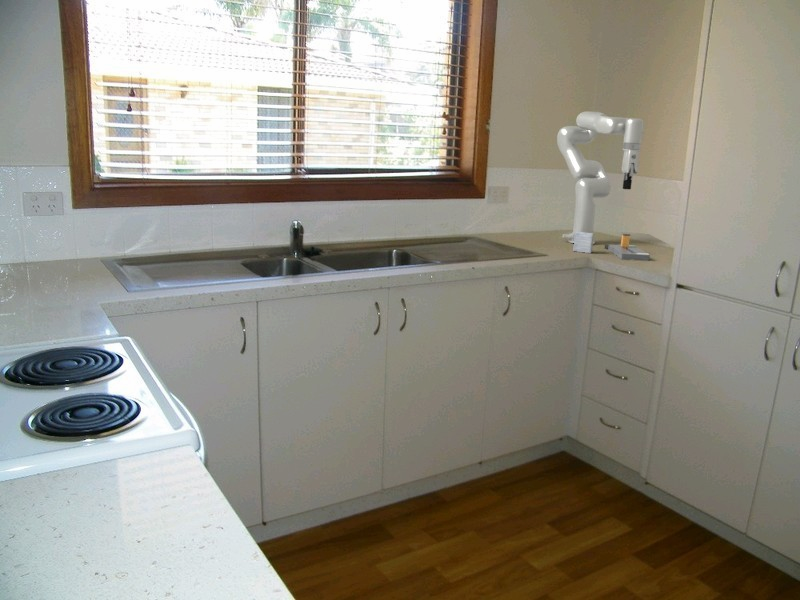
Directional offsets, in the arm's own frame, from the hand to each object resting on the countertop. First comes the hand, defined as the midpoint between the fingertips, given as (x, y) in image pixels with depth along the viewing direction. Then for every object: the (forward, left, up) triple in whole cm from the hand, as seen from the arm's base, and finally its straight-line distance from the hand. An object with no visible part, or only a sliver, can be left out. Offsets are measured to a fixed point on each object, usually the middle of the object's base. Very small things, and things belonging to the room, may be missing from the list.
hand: (626, 189), depth 315 cm
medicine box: (-17, -2, -29) cm, 34 cm away
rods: (+3, +11, -29) cm, 31 cm away
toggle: (+3, +3, -29) cm, 29 cm away
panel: (+3, -4, -29) cm, 30 cm away
